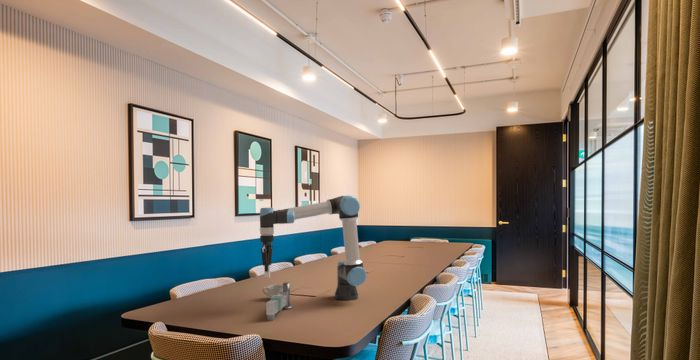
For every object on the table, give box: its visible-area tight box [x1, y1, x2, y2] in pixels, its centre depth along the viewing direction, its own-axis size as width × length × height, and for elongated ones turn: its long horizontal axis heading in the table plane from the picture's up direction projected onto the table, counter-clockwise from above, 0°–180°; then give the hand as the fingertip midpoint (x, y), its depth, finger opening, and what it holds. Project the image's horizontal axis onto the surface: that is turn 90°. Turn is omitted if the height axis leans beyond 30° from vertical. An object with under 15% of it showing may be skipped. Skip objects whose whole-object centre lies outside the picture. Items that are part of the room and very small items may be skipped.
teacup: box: [261, 284, 283, 300], centre depth 253 cm, size 14×11×8 cm
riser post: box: [281, 281, 294, 310], centre depth 234 cm, size 8×8×14 cm
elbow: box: [272, 291, 288, 310], centre depth 225 cm, size 12×5×9 cm, turn 168°
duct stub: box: [265, 297, 282, 322], centre depth 213 cm, size 10×5×10 cm, turn 170°
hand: (267, 277), depth 228 cm, fingers closed
